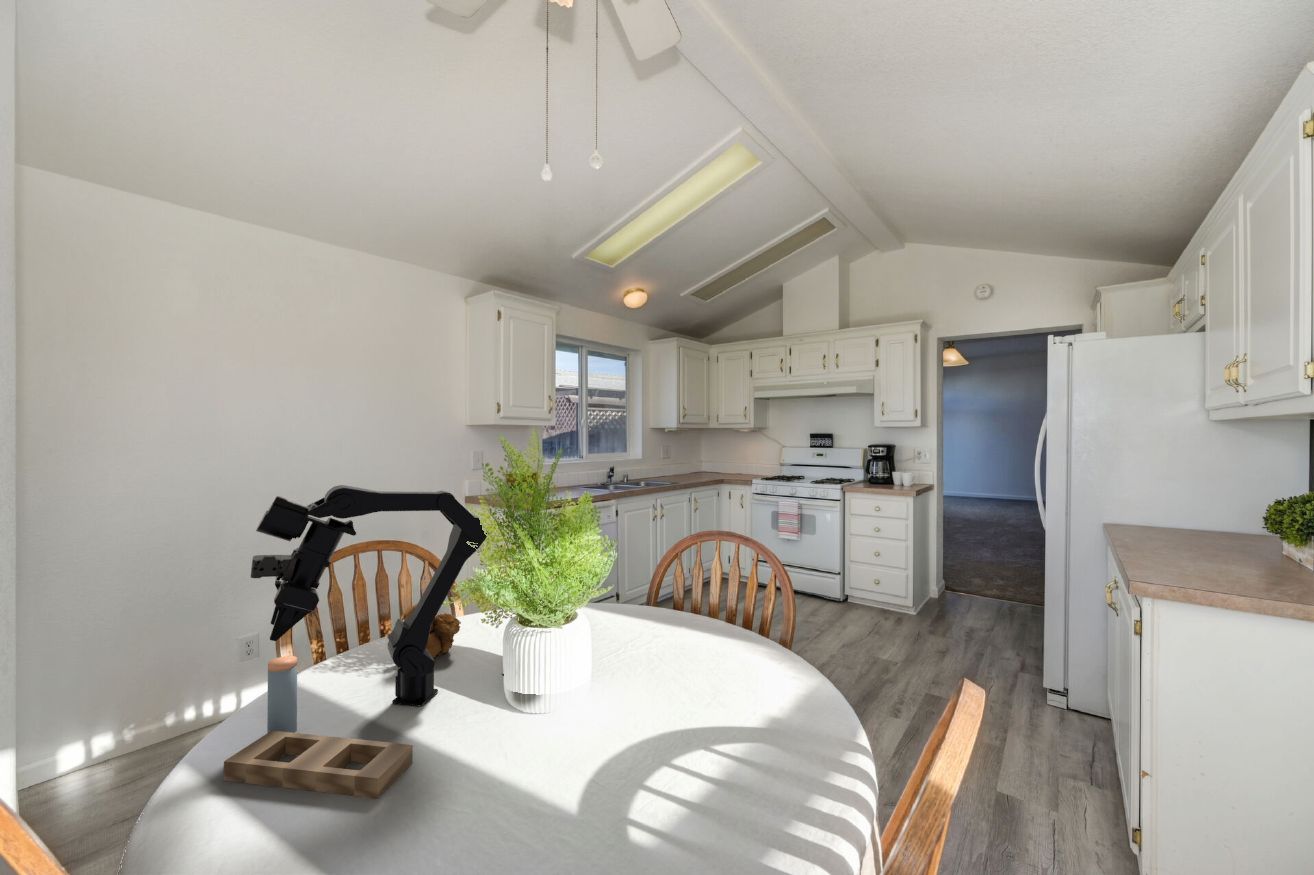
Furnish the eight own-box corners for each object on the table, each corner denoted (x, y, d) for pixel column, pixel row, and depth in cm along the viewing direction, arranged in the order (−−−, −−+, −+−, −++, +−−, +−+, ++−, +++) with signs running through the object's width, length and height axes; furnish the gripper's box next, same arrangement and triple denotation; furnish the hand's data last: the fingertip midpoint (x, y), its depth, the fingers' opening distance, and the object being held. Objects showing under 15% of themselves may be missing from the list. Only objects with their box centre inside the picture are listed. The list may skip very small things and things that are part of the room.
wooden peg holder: (412, 763, 92) (412, 744, 92) (377, 798, 83) (377, 778, 83) (271, 747, 96) (271, 730, 96) (223, 780, 87) (223, 761, 87)
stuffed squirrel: (391, 656, 135) (392, 601, 135) (451, 643, 143) (452, 592, 143) (400, 670, 127) (401, 613, 127) (463, 656, 135) (464, 602, 135)
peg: (302, 727, 102) (303, 657, 102) (283, 740, 98) (283, 667, 98) (281, 725, 103) (281, 655, 103) (261, 738, 98) (261, 665, 98)
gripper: (269, 527, 107) (226, 606, 104) (267, 544, 92) (216, 637, 88) (330, 546, 113) (290, 621, 110) (337, 565, 98) (292, 653, 94)
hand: (273, 632), depth 100 cm, fingers open, 9 cm apart
